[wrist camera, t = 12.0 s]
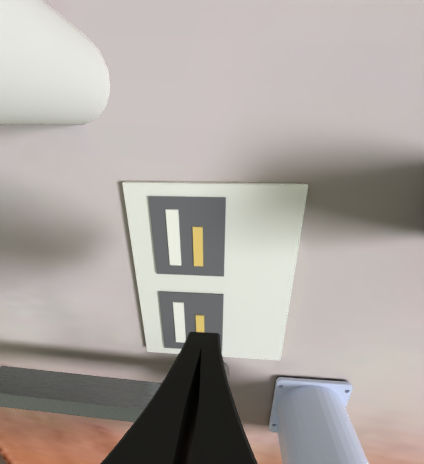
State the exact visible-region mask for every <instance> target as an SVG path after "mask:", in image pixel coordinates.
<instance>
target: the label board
mask: <svg viewBox="0 0 424 464" xmlns="http://www.w3.org/2000/svg"><path fill="white" fill-rule="evenodd" d="M122 184H123V191H124V198H125V205H126V211H127V218H128V225H129V232H130V238H131V245H132V252H133V259H134V265H135V272H136V279H137V286H138V292H139V299H140V306H141V313H142V319H143V326H144V333H145V340H146V346H147V352H157V353H173V354H179V353H180V351H181V349H182V347H183V345H184V343H185V341H186V339H187V336H188V334H189V333H190V332H207V333H218V334H219V335H220V345H221V352H222V357H236V358H251V359H267V360H280V359H281V353H282V347H283V341H284V335H285V328H286V322H287V316H288V310H289V303H290V297H291V291H292V285H293V279H294V272H295V266H296V260H297V254H298V247H299V241H300V235H301V229H302V223H303V216H304V210H305V204H306V198H307V191H308V185H307V184H292V183H218V182H143V181H125V182H123V183H122Z"/></svg>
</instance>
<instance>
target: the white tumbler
mask: <svg viewBox="0 0 424 464" xmlns="http://www.w3.org/2000/svg"><path fill="white" fill-rule="evenodd" d="M109 93H110V82H109V71H108V69H107V67H106V64H105V62H104V59H103V57H102V55H101V52H100V51H99V50H98V49H97V47H96V46H95V45H94V44H93V43H92V42H91V40H90V39H89V38H88V37H87V36H86V35H85V34H83V33H82V32H81V31H80V30H78V29H77V28H76V27H75V26H73V25H72V24H71V23H70V22H69V21H67V20H66V19H65V18H64V17H62V16H61V15H60V14H59V13H57V12H56V11H55V10H54V9H53V8H51V7H50V6H49V5H48V4H46V3H45V2H44V1H43V0H0V124H86V123H88V122H90V121H93V120H95V119H97V118H98V116H99V115H100V114H101V113H102V111H103V110H104V109H105V108H106V105H107V101H108V97H109Z"/></svg>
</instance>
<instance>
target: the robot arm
mask: <svg viewBox="0 0 424 464" xmlns="http://www.w3.org/2000/svg"><path fill="white" fill-rule="evenodd" d="M352 389H353V386H352V384H351V383H350V382H345V381H330V380H315V379H301V378H286V377H279V378H277V379H276V384H275V390H274V396H273V403H272V409H271V415H270V422H269V430H270V431H271V432H277V433H278V438H279V444H280V450H281V456H282V463H283V464H369V463H368V460H367V458H366V456H365V453H364V451H363V449H362V446H361V444H360V442H359V439H358V437H357V435H356V432H355V430H354V428H353V425H352V423H351V420H350V418H349V416H348V413H347V411H346V406H347V403H348V400H349V397H350V394H351V392H352ZM101 464H257V461H256V459H255V457H254V454H253V452H252V449H251V447H250V444H249V442H248V439H247V437H246V434H245V432H244V429H243V426H242V424H241V421H240V418H239V415H238V412H237V409H236V406H235V403H234V400H233V397H232V394H231V390H230V387H229V383H228V380H227V376H226V372H225V368H224V363H223V358H222V352H221V345H220V335H219V334H218V333H207V332H190V333H189V334H188V336H187V339H186V341H185V343H184V345H183V347H182V349H181V351H180V353H179V355H178V357H177V359H176V360H175V362H174V364H173V366H172V367H171V369H170V371H169V373H168V374H167V376H166V378H165V379H164V381H163V382H162V384H161V385H160V387H159V388H158V390H157V391H156V393H155V395H154V396H153V398H152V399H151V400H150V402H149V403H148V405H147V406H146V408H145V409H144V410H143V412H142V413H141V414H140V416H139V417H138V418H137V420H136V421H135V422H134V424H133V425H132V426H131V428H130V429H129V430H128V431H127V433H126V434H125V435H124V436H123V438H122V439H121V440H120V441H119V443H118V444H117V445H116V446H115V447H114V449H113V450H112V451H111V452H110V453H109V455H108V456H107V457H106V458H105V459H104V460H103V461H102V463H101Z"/></svg>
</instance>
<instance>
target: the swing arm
mask: <svg viewBox="0 0 424 464" xmlns="http://www.w3.org/2000/svg"><path fill="white" fill-rule="evenodd" d="M223 363H224V362H223ZM224 368H225V372H226V376H227V380H228V383H229V368H228V366H227V364H226V363H224ZM161 384H162V383H155V382H146V381H136V380H127V379H118V378H109V377H99V376H90V375H81V374H72V373H63V372H53V371H44V370H35V369H26V368H17V367H7V366H1V367H0V406H1V407H9V408H18V409H26V410H35V411H43V412H52V413H60V414H69V415H77V416H86V417H94V418H103V419H112V420H120V421H129V422H135V421H136V420H137V418H138V417H139V416H140V414H141V413H142V412H143V410H144V409H145V408H146V406H147V405H148V403H149V402H150V400H151V399H152V398H153V396H154V395H155V393H156V391H157V390H158V388H159V387H160V385H161Z"/></svg>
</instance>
